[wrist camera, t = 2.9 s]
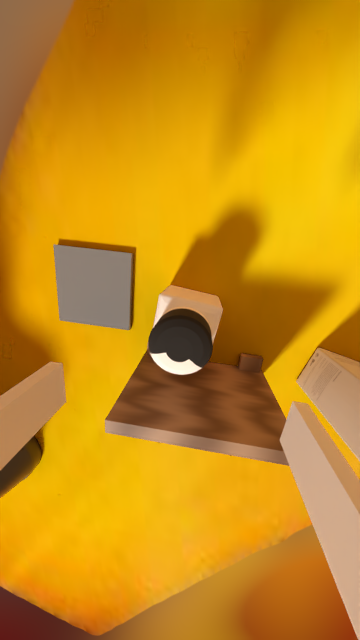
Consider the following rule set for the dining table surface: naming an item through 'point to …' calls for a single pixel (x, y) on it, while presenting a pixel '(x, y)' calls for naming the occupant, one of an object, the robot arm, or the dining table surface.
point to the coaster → (94, 286)
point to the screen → (203, 409)
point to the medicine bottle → (184, 329)
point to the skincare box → (335, 393)
